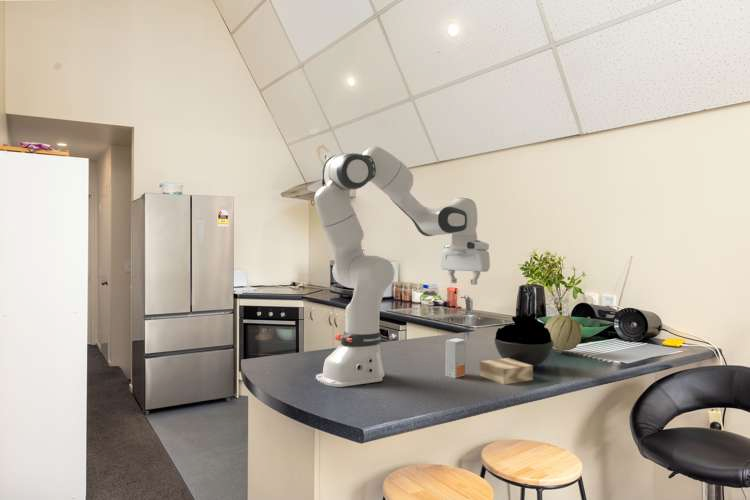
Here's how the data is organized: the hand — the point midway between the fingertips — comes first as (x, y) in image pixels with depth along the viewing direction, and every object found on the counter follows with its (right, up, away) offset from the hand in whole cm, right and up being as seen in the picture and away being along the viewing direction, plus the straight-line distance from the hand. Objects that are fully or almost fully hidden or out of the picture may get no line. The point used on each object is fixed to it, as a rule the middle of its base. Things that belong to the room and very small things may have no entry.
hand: (463, 283), depth 171 cm
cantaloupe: (+47, -30, +31) cm, 64 cm away
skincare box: (-4, -30, -9) cm, 32 cm away
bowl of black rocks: (+22, -30, +2) cm, 37 cm away
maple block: (+12, -30, -11) cm, 35 cm away
